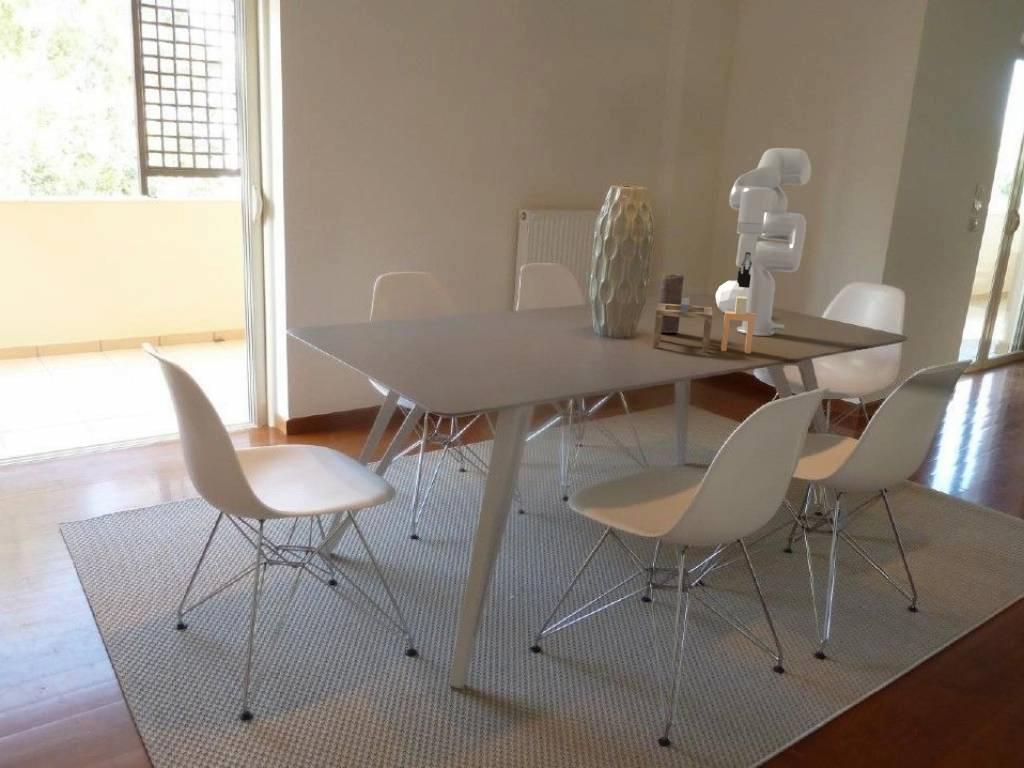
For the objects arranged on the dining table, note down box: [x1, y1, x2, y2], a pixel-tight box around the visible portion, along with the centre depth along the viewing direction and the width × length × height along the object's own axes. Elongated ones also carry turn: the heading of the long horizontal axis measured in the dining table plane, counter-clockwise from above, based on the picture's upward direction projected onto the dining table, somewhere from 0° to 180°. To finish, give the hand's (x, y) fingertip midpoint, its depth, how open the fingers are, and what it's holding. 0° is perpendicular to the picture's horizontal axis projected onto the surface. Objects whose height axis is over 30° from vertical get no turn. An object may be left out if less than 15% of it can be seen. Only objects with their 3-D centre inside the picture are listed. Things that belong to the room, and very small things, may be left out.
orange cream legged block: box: [720, 296, 755, 354], centre depth 273 cm, size 9×5×17 cm, turn 78°
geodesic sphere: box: [715, 279, 746, 314], centre depth 340 cm, size 14×14×14 cm
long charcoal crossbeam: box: [680, 297, 691, 313], centre depth 275 cm, size 2×14×2 cm, turn 168°
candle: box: [659, 274, 684, 334], centre depth 295 cm, size 8×7×20 cm
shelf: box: [652, 303, 714, 354], centre depth 277 cm, size 17×14×12 cm
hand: (743, 285), depth 270 cm, fingers open, 9 cm apart
